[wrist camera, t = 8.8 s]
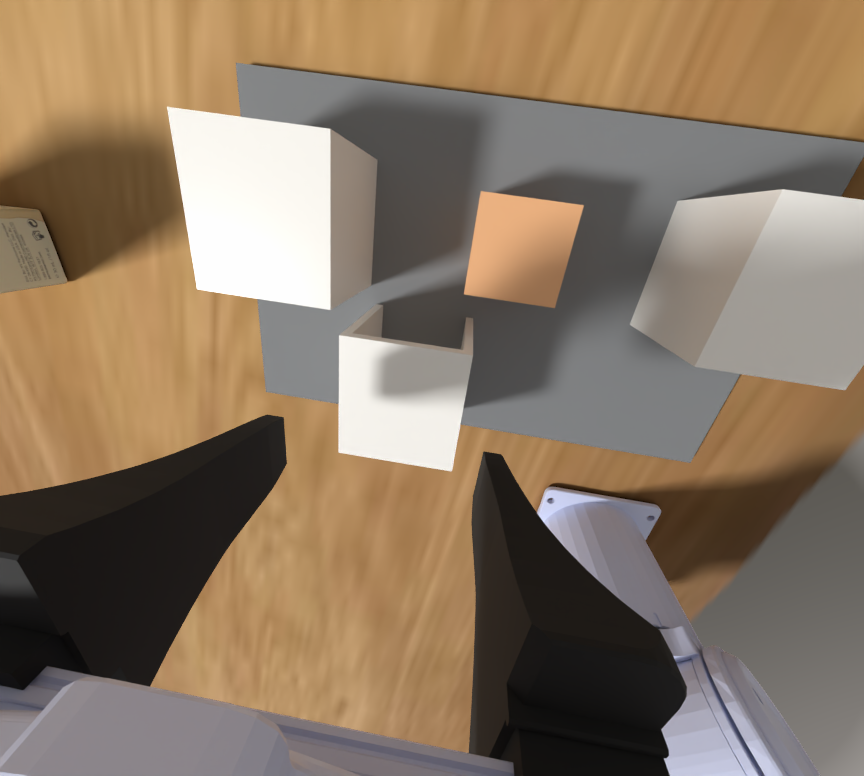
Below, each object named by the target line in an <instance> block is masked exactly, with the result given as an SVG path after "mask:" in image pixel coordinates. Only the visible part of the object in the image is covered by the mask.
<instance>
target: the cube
mask: <svg viewBox="0 0 864 776" xmlns="http://www.w3.org/2000/svg"><path fill="white" fill-rule="evenodd" d="M583 207H584V205H578V204H571V203H564V202H557V201H549V200H542V199H535V198H528V197H520V196H513V195H506V194H499V193H492V192H484V191H481V193H480V198H479V204H478V210H477V216H476V222H475V228H474V234H473V240H472V246H471V252H470V258H469V264H468V270H467V276H466V283H465V290H464V294H465V295H472V296H478V297H485V298H491V299H498V300H505V301H511V302H518V303H524V304H531V305H538V306H544V307H551V308H555V305H556V302H557V298H558V295H559V291H560V288H561V284H562V281H563V277H564V274H565V270H566V267H567V263H568V260H569V256H570V253H571V249H572V246H573V242H574V239H575V235H576V231H577V228H578V224H579V221H580V217H581V214H582V210H583Z"/></svg>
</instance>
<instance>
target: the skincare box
mask: <svg viewBox="0 0 864 776" xmlns="http://www.w3.org/2000/svg"><path fill="white" fill-rule="evenodd" d="M64 283H67V278H66V276H65V274H64V271H63V268H62V266H61V263H60V260H59V258H58V255H57V252H56V250H55V247H54V245H53V242H52V240H51V237H50V235H49V232H48V230H47V227H46V225H45V223H44V220H43V218H42V215H41V213H40V211H39V210H37V209H29V208H20V207H10V206H0V293H6V292H12V291H19V290H25V289H31V288H38V287H44V286H51V285H57V284H64Z"/></svg>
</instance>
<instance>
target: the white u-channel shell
mask: <svg viewBox="0 0 864 776" xmlns="http://www.w3.org/2000/svg"><path fill="white" fill-rule="evenodd" d="M382 320H383V305H380V304H376V305H375V306H374V307H372V308H371V309H370V310H369V311H368V312H366V313H365V314H364V315H363V316H362V317H360V318H359V319H358V320H357V321H356V322H354V323H353V324H352V325H351V326H350V327H348V328H347V329H346V330H345V331H343V332H342V333H341V334H340V335H339V453H345V454H351V455H357V456H363V457H368V458H374V459H380V460H386V461H392V462H398V463H404V464H410V465H416V466H422V467H428V468H434V469H440V470H446V471H452V467H453V462H454V456H455V451H456V446H457V440H458V435H459V429H460V424H461V418H462V413H463V408H464V402H465V397H466V391H467V386H468V380H469V375H470V369H471V364H472V359H473V318H468V317H466V322H465V328H464V334H463V340H462V346H461V350H460V349H454V348H447V347H440V346H434V345H427V344H420V343H414V342H407V341H401V340H394V339H387V338H381V337H382Z"/></svg>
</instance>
